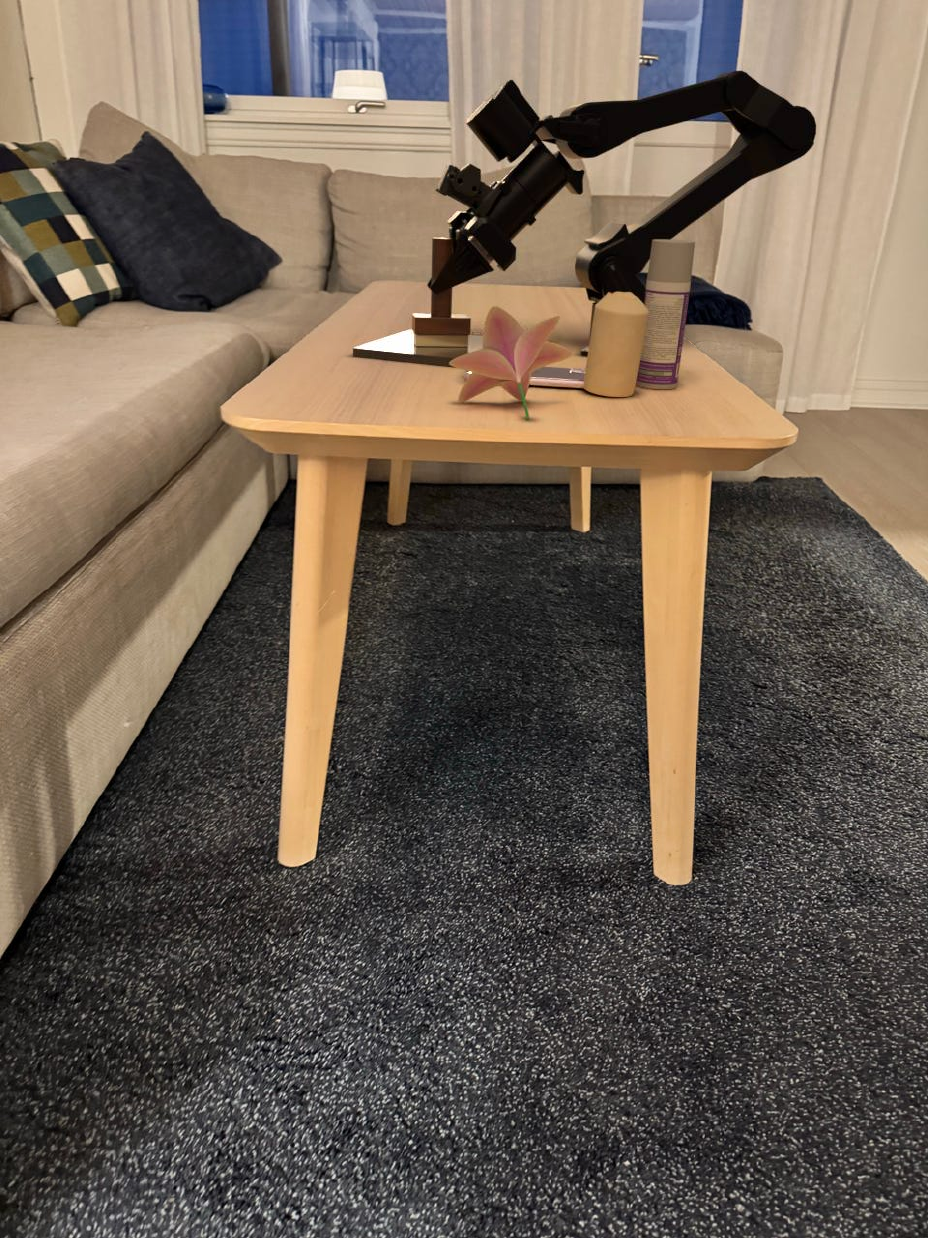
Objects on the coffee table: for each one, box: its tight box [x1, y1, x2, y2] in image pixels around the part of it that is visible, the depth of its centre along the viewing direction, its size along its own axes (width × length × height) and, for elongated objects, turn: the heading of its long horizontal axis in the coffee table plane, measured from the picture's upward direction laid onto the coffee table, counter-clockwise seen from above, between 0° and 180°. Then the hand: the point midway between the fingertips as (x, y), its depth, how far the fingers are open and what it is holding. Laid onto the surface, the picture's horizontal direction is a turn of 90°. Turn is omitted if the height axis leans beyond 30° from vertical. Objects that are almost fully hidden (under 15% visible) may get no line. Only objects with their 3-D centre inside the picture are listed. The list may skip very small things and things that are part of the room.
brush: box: [411, 237, 472, 347], centre depth 113 cm, size 4×7×12 cm, turn 99°
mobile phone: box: [463, 366, 586, 389], centre depth 101 cm, size 8×1×15 cm
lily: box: [449, 306, 574, 420], centre depth 86 cm, size 12×12×10 cm
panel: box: [352, 328, 483, 368], centre depth 117 cm, size 18×15×1 cm
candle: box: [583, 292, 649, 398], centre depth 95 cm, size 6×6×10 cm
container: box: [636, 239, 696, 390], centre depth 99 cm, size 5×5×15 cm
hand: (431, 289), depth 112 cm, fingers closed on brush, 2 cm apart
